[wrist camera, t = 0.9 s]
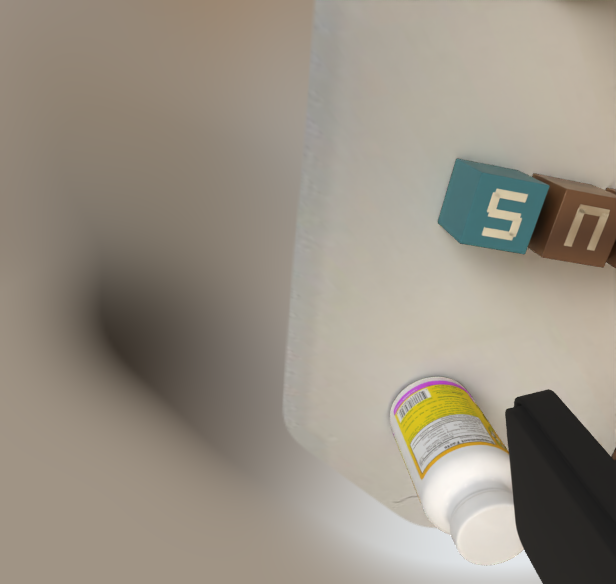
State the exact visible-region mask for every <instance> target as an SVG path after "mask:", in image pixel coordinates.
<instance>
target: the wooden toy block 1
mask: <svg viewBox="0 0 616 584" xmlns="http://www.w3.org/2000/svg"><path fill="white" fill-rule="evenodd" d="M532 177H533V178H535V179H537V180H539V181H541V182H543V183H545V184H548V185H549V189H548V192H547V195H546V198H545V200H544V203H543V206H542V209H541V211H540V214H539V217H538V220H537V222H536V225H535V228H534V231H533V233H532V236H531V239H530V242H529V245H528V248H530V249H531V250H532V251H534V252H535V253H537V254H538V255H539V256H541V257H543V258H549V259H555V260H561V261H567V262H573V263H579V264H585V265H590V266H596V267H602V268H604V266H605V263H606V261H607V258H608V256H609V254H610V251H611V249H612V247H613V244H614V242H615V239H616V195H615V194H613V193H610V192H608V191H606V190H603V189H601V188H598V187H596V186H593V185H590V184H585V183H580V182H575V181H570V180H565V179H560V178H554V177H549V176H544V175H539V174H533V176H532Z"/></svg>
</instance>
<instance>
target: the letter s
mask: <svg viewBox="0 0 616 584" xmlns="http://www.w3.org/2000/svg"><path fill="white" fill-rule="evenodd" d="M548 189H549V185H548V184H545V183H543V182H541V181H539V180H537V179H535V178H533V177H531V176H529V175H526V174H524V173H522V172H520V171H518V170H513V169H508V168H503V167H498V166H493V165H488V164H483V163H478V162H473V161H468V160H462V159H456V162H455V165H454V169H453V172H452V175H451V179H450V182H449V186H448V189H447V192H446V196H445V199H444V202H443V206H442V209H441V213H440V216H439V219H438V223H439V224H440V225H441V226H442V227H443V228H444V229H445V230H446V231H447V232H448V233H449V234H450V235H451V236H453V237H454V238H455V239H456V240H457V241H458V242H459V243H461V244H467V245H473V246H478V247H484V248H490V249H496V250H502V251H508V252H514V253H520V254H525V253H526V250H527V247H528V245H529V242H530V239H531V236H532V233H533V231H534V228H535V225H536V222H537V220H538V217H539V214H540V211H541V209H542V206H543V203H544V200H545V198H546V195H547V192H548Z"/></svg>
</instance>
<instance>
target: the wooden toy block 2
mask: <svg viewBox="0 0 616 584" xmlns="http://www.w3.org/2000/svg"><path fill="white" fill-rule="evenodd" d="M606 191H608V192H610V193H613V194H615V195H616V189H610V188H607V189H606ZM606 262H607V263H608V264H610V265H611V266H613V267H615V268H616V239H615V242H614V244H613V247H612V249H611V251H610V254H609V256H608V258H607V261H606Z"/></svg>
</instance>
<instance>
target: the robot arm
mask: <svg viewBox="0 0 616 584" xmlns="http://www.w3.org/2000/svg"><path fill="white" fill-rule="evenodd" d="M505 416H506V427H507V438H508V448H509V459H510V470H511V480H512V491H513V502H514V512H515V523H516V529H517V533H518V536H519V539H520V542H521V544H522V546H523V548H524V550H525V552H526V554H527V556H528V557H529V559H530V561H531V563H532V565H533V567H534V568H535V570H536V572H537V574H538V575H539V577H540V579H541V581H542V583H543V584H616V460H613V459H612V457H611V456H610V455H609V454H608V453H607V452H606V451H605V449H604V448H603V447H602V446H601V445H600V444H599V443H598V442H597V440H596V439H595V438H594V437H593V436H592V435H591V434H590V432H589V431H588V430H587V429H586V428H585V427H584V426H583V424H582V423H581V422H580V421H579V420H578V419H577V418H576V416H575V415H574V414H573V413H572V412H571V411H570V410H569V408H568V407H567V406H566V405H565V404H564V403H563V402H562V400H561V399H560V398H559V397H558V396H557V395H556V394H555V393H554V392H553V391H552V390H549V389H548V390H544V391H540V392H536V393H532V394H528V395H524V396H520V397H517V398H515V401H514V407H513V408H509V409H507V410H506V412H505Z"/></svg>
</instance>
